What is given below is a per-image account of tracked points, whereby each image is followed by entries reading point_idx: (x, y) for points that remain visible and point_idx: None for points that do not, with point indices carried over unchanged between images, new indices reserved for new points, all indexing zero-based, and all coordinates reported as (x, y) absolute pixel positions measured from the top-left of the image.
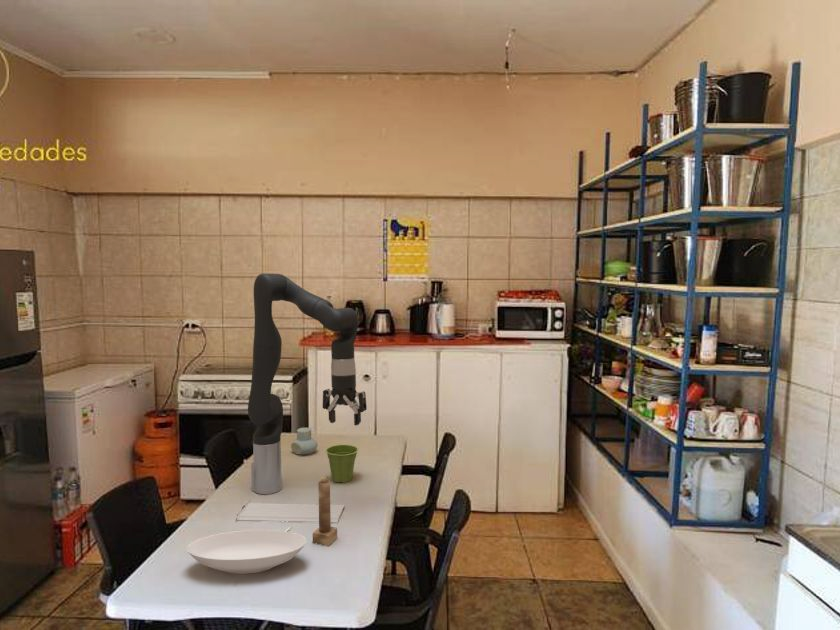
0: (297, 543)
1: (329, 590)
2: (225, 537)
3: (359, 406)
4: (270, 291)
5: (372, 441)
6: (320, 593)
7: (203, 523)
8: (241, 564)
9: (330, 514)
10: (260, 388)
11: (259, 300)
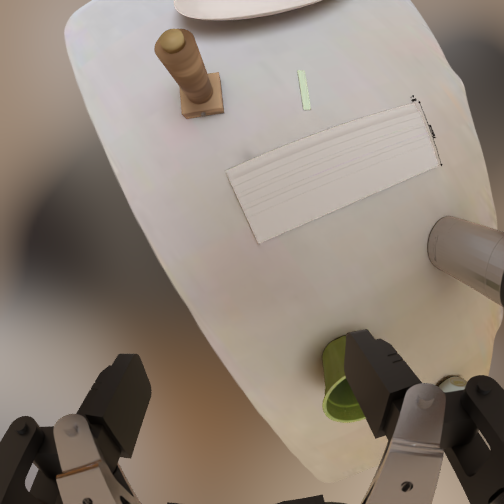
0: (206, 17)
1: (116, 14)
2: None
3: (19, 459)
4: None
5: (356, 463)
6: (124, 4)
7: (444, 83)
8: None
9: (258, 187)
10: None
11: None
